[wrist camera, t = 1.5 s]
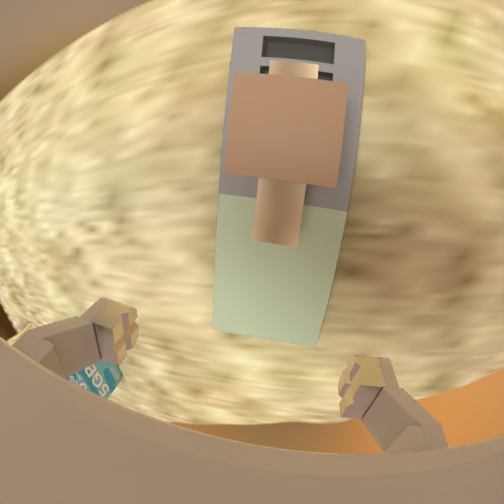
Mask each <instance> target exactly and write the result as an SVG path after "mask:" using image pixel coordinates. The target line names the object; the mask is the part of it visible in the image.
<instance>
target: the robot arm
mask: <svg viewBox="0 0 504 504" xmlns="http://www.w3.org/2000/svg"><path fill="white" fill-rule="evenodd" d="M136 318H137V310H136V309H135V308H134V307H131V306H128V305H125V304H122V303H119V302H116V301H113V300H110V299H107V298H104V297H103V298H100V299H99V300H98V301H97V302H96V303H94V304H93V305H92V306H91V307H90V308H89V309H88V310H87V311H86V312H85V313H84V314H82V315H81V316H80V317H77V316H76V317H72V318H69V319H65V320H61V321H58V322H54V323H51V324H47V325H43V326H40V327H36V328H32V329H29V330H28V331H27V332H25V333H24V334H23V335H22V336H21V337H20V338H19V339H18V340H17V341H16V342H14V343H13V344H12V345H11V344H9V343H8V342H6V341H5V340H4V339H2V338H1V337H0V504H504V435H502V436H498V437H495V438H491V439H487V440H483V441H479V442H475V443H470V444H465V445H460V446H454V447H448V445H447V441H446V438H445V435H444V432H443V428H442V425H441V423H440V422H439V421H437V420H436V419H435V418H434V417H433V416H432V415H431V414H430V413H429V412H428V411H427V410H425V409H424V408H423V407H422V406H421V405H420V404H419V403H418V402H417V401H416V400H415V399H414V398H412V397H411V396H410V395H409V394H408V393H407V392H406V391H405V390H404V389H403V388H399V386H398V382H397V379H396V376H395V373H394V370H393V367H392V364H391V361H390V359H389V358H381V357H367V356H358V355H351V357H350V358H349V360H348V362H347V364H348V368H347V369H345V370H344V371H343V372H342V375H341V377H340V380H339V386H338V392H339V395H340V396H341V397H342V400H341V401H340V403H339V404H340V415H341V417H347V418H359V419H361V420H362V421H363V423H364V424H365V426H366V427H367V429H368V430H369V431H370V433H371V434H372V436H373V437H374V438H375V440H376V441H377V443H378V444H379V445H380V447H381V448H382V450H383V451H384V453H383V454H334V453H332V454H331V453H318V452H306V451H295V450H287V449H280V448H273V447H266V446H260V445H254V444H249V443H243V442H238V441H234V440H229V439H225V438H221V437H217V436H212V435H208V434H204V433H201V432H197V431H194V430H190V429H187V428H183V427H180V426H177V425H174V424H171V423H168V422H165V421H162V420H159V419H156V418H153V417H150V416H147V415H145V414H142V413H139V412H137V411H134V410H132V409H129V408H127V407H124V406H122V405H120V404H117V403H115V402H113V401H110V400H108V399H106V398H104V397H101V396H99V395H97V394H95V393H93V392H91V391H89V390H87V389H85V388H83V387H81V386H79V385H77V384H75V383H73V382H71V381H69V380H67V379H66V377H68V376H70V375H72V374H75V373H77V372H79V371H81V370H83V369H85V368H87V367H89V366H91V365H93V364H95V363H97V362H99V361H101V359H102V360H104V361H107V362H110V363H112V364H115V365H118V366H120V364H121V363H122V362H123V360H124V359H125V358H126V356H127V351H126V350H129V349H131V348H133V347H134V345H135V344H136V341H137V338H138V332H139V330H138V325H137V324H136V322H135V321H134V320H135V319H136Z"/></svg>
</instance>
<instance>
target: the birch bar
mask: <svg viewBox="0 0 504 504" xmlns="http://www.w3.org/2000/svg"><path fill="white" fill-rule="evenodd" d="M318 68H319V65H317V64H309V63H301V62H291V61H279V60H270V66H269V74H275V75H287V76H297V77H306V78H314V79H318ZM305 189H306V184H305V183H298V182H291V181H284V180H276V179H268V178H260V177H259V178H258V188H257V198H256V209H255V219H254V229H253V239H252V240H253V241H260V242H267V243H273V244H280V245H286V246H293V247H297V244H298V238H299V231H300V225H301V218H302V211H303V204H304V197H305Z"/></svg>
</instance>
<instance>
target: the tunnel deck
mask: <svg viewBox="0 0 504 504" xmlns="http://www.w3.org/2000/svg"><path fill="white" fill-rule="evenodd" d="M365 41H366V40H362V39H357V38H352V37H347V36H342V35H336V34H329V33H322V32H315V31H306V30H296V29H282V28H257V27H237V28H235V29H234V37H233V45H232V53H231V62H230V71H229V80H228V90H227V100H226V110H225V121H224V132H223V144H222V157H221V170H220V184H219V200H218V216H217V234H216V255H215V280H214V311H213V329H214V330H219V331H224V332H229V333H234V334H239V335H244V336H249V337H255V338H260V339H266V340H271V341H277V342H284V343H290V344H296V345H303V346H310V347H316V344H317V341H318V337H319V334H320V330H321V326H322V323H323V319H324V315H325V311H326V307H327V304H328V300H329V296H330V291H331V287H332V283H333V279H334V275H335V270H336V266H337V261H338V257H339V252H340V247H341V242H342V237H343V232H344V227H345V222H346V217H347V211H348V205H349V200H350V194H351V187H352V181H353V175H354V168H355V161H356V153H357V145H358V137H359V128H360V119H361V108H362V97H363V83H364V67H365ZM270 60H279V61H291V62H301V63H309V64H317V65H319V68H318V79H314V78H306V77H297V76H287V75H275V74H269V66H270ZM259 177H260V178H268V179H276V180H284V181H291V182H298V183H305V184H306V189H305V197H304V204H303V211H302V218H301V225H300V231H299V238H298V244H297V247H293V246H286V245H280V244H273V243H267V242H260V241H253V240H252V239H253V229H254V219H255V209H256V198H257V188H258V178H259Z"/></svg>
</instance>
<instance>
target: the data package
mask: <svg viewBox="0 0 504 504" xmlns="http://www.w3.org/2000/svg"><path fill="white" fill-rule="evenodd" d="M66 379H67V380H69V381H71V382H73V383H75V384H77V385H79V386H81V387H83V388H85V389H87V390H89V391H91V392H93V393H95V394H97V395H99V396H101V397H104V398H106V399H107V398H108V397H109V396H110V394H111V393H112V392H113V390H114V389H115V387H116V386H117V385H118V383H119V382H120V380H121V372H120V370H119V368H118V366H117V365H115V364H112V363H110V362H107V361H104V360H102V359H101V361H99V362H97V363H95V364H93V365H91V366H89V367H87V368H85V369H83V370H81V371H79V372H77V373H75V374H72V375H70V376H68V377H66Z"/></svg>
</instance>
